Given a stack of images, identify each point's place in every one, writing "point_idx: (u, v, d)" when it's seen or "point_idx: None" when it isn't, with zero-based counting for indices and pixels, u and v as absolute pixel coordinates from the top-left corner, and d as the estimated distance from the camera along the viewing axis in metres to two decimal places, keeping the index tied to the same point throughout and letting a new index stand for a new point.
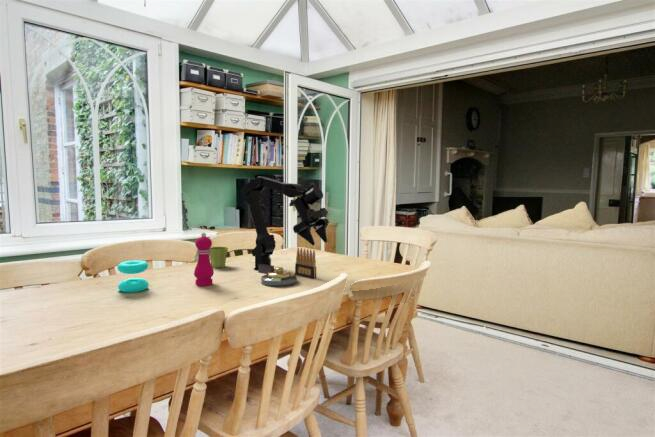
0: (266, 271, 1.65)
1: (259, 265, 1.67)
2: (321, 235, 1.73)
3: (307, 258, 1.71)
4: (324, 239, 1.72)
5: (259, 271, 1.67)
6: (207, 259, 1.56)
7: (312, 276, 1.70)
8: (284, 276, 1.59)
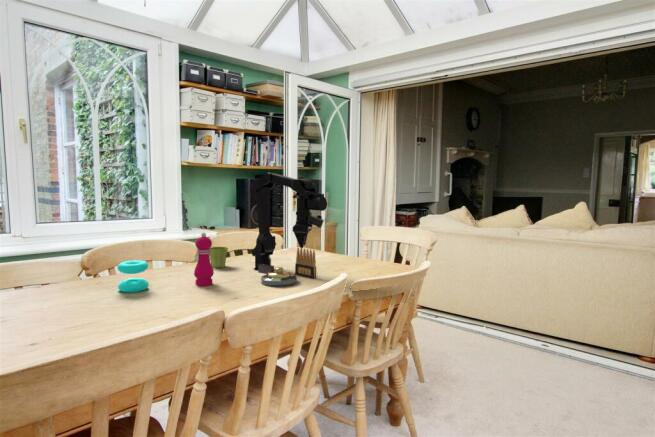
0: (266, 271, 1.65)
1: (259, 265, 1.67)
2: None
3: (307, 258, 1.71)
4: (303, 242, 1.74)
5: (259, 271, 1.67)
6: (207, 259, 1.56)
7: (312, 276, 1.70)
8: (284, 276, 1.59)
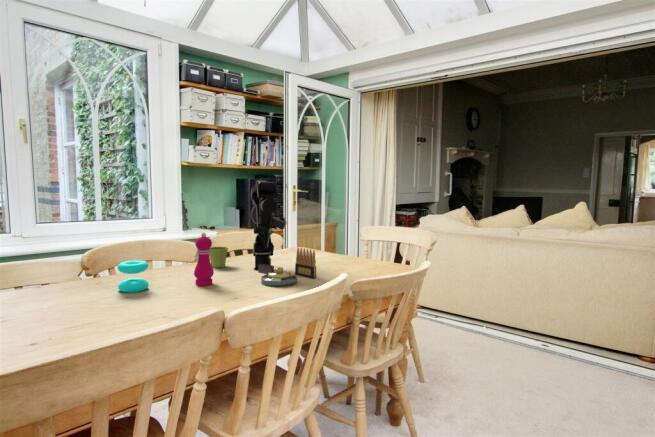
0: (266, 271, 1.65)
1: (259, 265, 1.67)
2: None
3: (307, 258, 1.71)
4: None
5: (259, 271, 1.67)
6: (207, 259, 1.56)
7: (312, 276, 1.70)
8: (284, 276, 1.59)
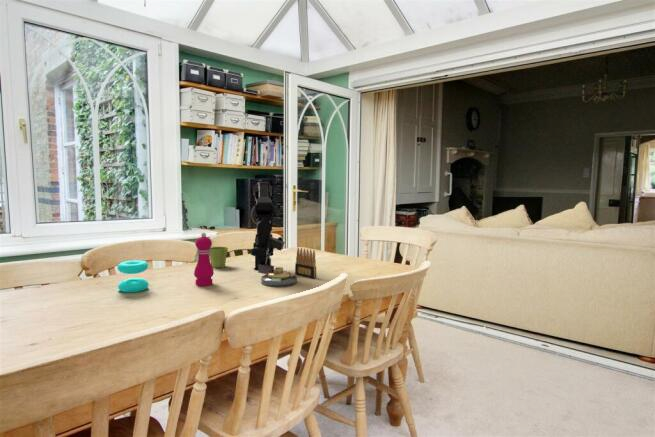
0: (266, 271, 1.65)
1: (259, 265, 1.67)
2: None
3: (307, 258, 1.71)
4: None
5: (259, 271, 1.67)
6: (207, 259, 1.56)
7: (312, 276, 1.70)
8: (284, 276, 1.59)
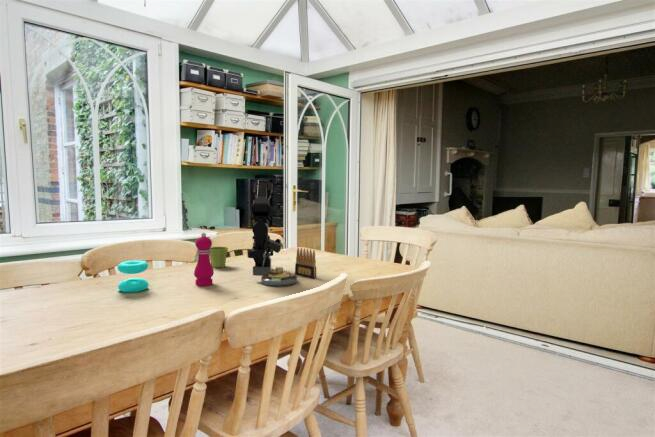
0: (263, 273, 1.62)
1: (254, 267, 1.62)
2: None
3: (307, 258, 1.71)
4: None
5: (254, 274, 1.62)
6: (207, 259, 1.56)
7: (312, 276, 1.70)
8: (288, 275, 1.60)
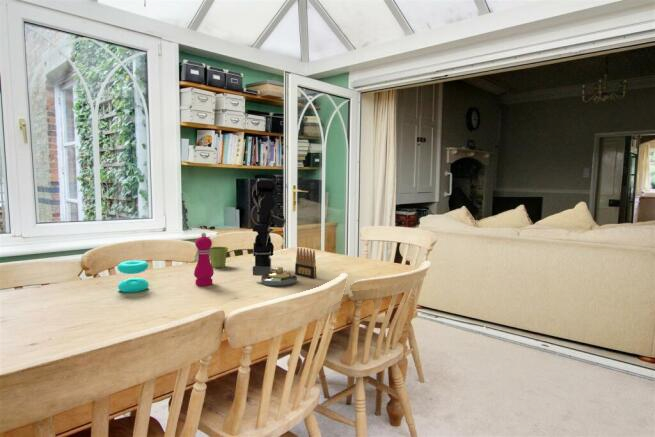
0: (263, 273, 1.62)
1: (254, 268, 1.62)
2: None
3: (307, 258, 1.71)
4: None
5: (254, 274, 1.62)
6: (207, 259, 1.56)
7: (312, 276, 1.70)
8: (288, 275, 1.60)
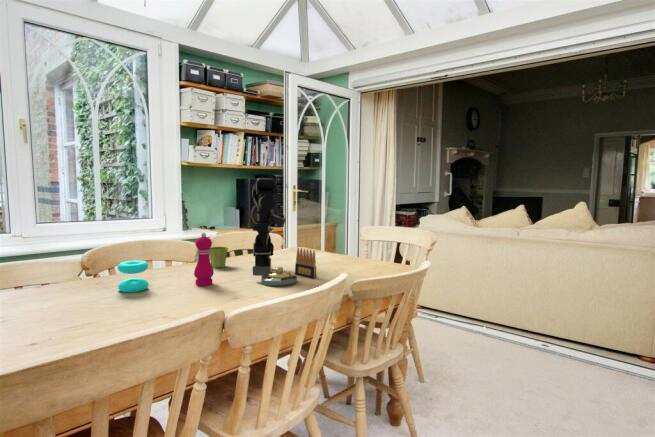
0: (263, 273, 1.62)
1: (254, 268, 1.62)
2: None
3: (307, 258, 1.71)
4: None
5: (254, 274, 1.62)
6: (207, 259, 1.56)
7: (312, 276, 1.70)
8: (288, 275, 1.60)
